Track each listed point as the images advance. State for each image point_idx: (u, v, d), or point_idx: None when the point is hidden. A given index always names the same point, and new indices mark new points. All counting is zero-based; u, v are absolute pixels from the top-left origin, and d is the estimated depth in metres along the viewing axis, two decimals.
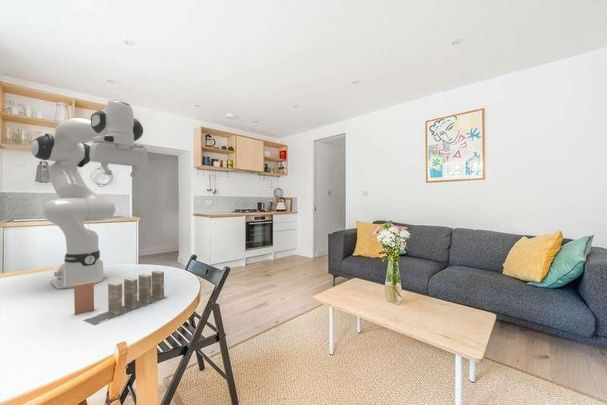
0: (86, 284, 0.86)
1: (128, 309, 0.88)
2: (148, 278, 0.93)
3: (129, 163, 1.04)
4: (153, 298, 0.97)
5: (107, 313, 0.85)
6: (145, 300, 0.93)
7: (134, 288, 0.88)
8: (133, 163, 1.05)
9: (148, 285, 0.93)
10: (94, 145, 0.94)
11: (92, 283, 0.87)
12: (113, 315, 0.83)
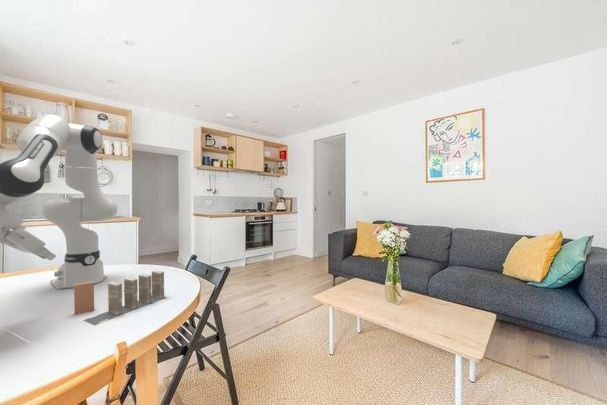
0: (86, 284, 0.86)
1: (128, 309, 0.88)
2: (148, 278, 0.93)
3: (28, 252, 0.75)
4: (153, 298, 0.97)
5: (107, 313, 0.85)
6: (145, 300, 0.93)
7: (134, 288, 0.88)
8: (28, 252, 0.74)
9: (148, 285, 0.93)
10: None
11: (92, 283, 0.87)
12: (113, 315, 0.83)
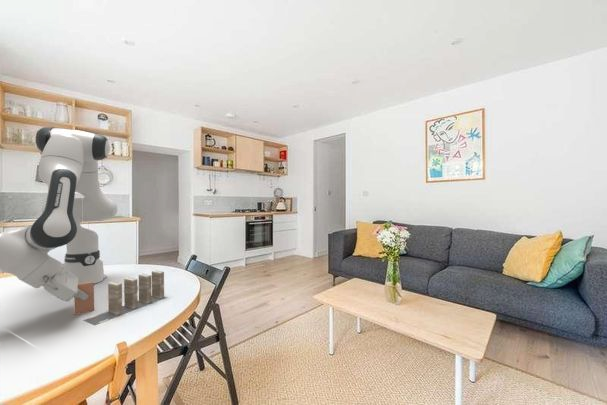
0: (86, 284, 0.86)
1: (128, 309, 0.88)
2: (148, 278, 0.93)
3: None
4: (153, 298, 0.97)
5: (107, 313, 0.85)
6: (145, 300, 0.93)
7: (134, 288, 0.88)
8: None
9: (148, 285, 0.93)
10: None
11: (92, 283, 0.87)
12: (113, 315, 0.83)
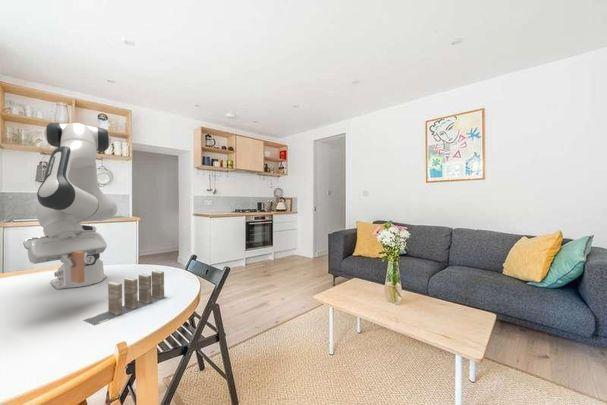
0: (75, 253, 0.85)
1: (128, 309, 0.88)
2: (148, 278, 0.93)
3: None
4: (153, 298, 0.97)
5: (107, 313, 0.85)
6: (145, 300, 0.93)
7: (134, 288, 0.88)
8: None
9: (148, 285, 0.93)
10: None
11: (77, 253, 0.84)
12: (113, 315, 0.83)
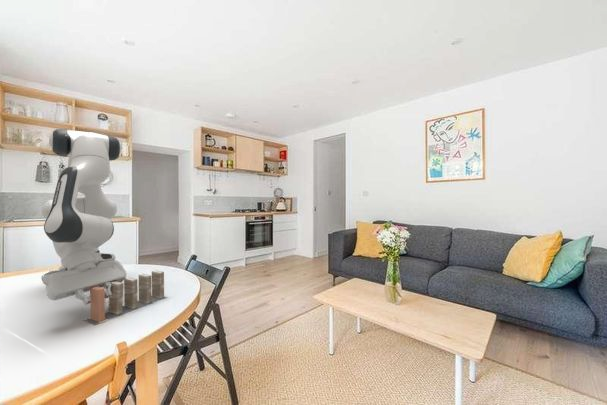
0: (95, 290, 0.79)
1: (128, 309, 0.88)
2: (148, 278, 0.93)
3: None
4: (153, 298, 0.97)
5: (107, 313, 0.85)
6: (145, 300, 0.93)
7: (134, 288, 0.88)
8: None
9: (148, 285, 0.93)
10: None
11: (98, 290, 0.79)
12: (113, 315, 0.83)
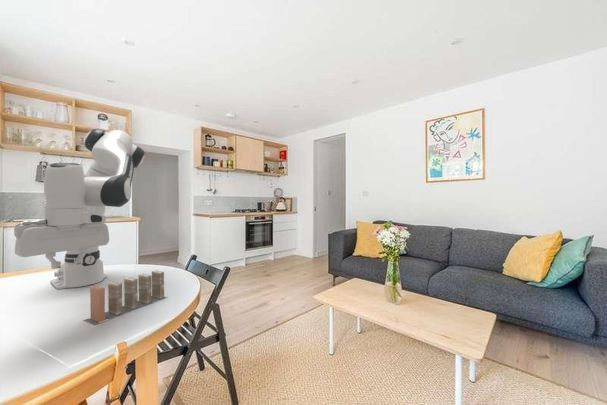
0: (95, 290, 0.79)
1: (128, 309, 0.88)
2: (148, 278, 0.93)
3: None
4: (153, 298, 0.97)
5: (107, 313, 0.85)
6: (145, 300, 0.93)
7: (134, 288, 0.88)
8: None
9: (148, 285, 0.93)
10: None
11: (98, 290, 0.79)
12: (113, 315, 0.83)
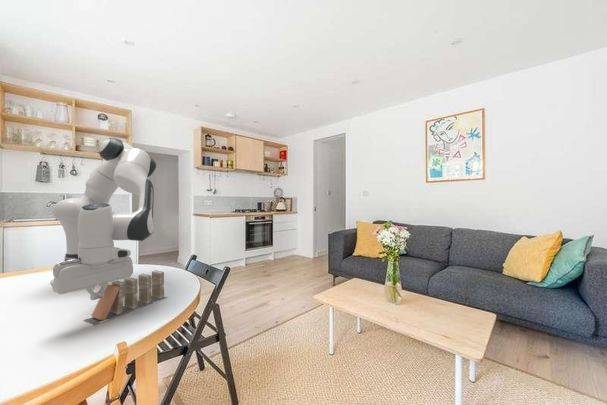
0: (111, 286, 0.84)
1: (128, 309, 0.88)
2: (148, 278, 0.93)
3: None
4: (153, 298, 0.97)
5: None
6: (145, 300, 0.93)
7: (134, 288, 0.88)
8: None
9: (148, 285, 0.93)
10: None
11: (114, 287, 0.83)
12: (113, 315, 0.83)
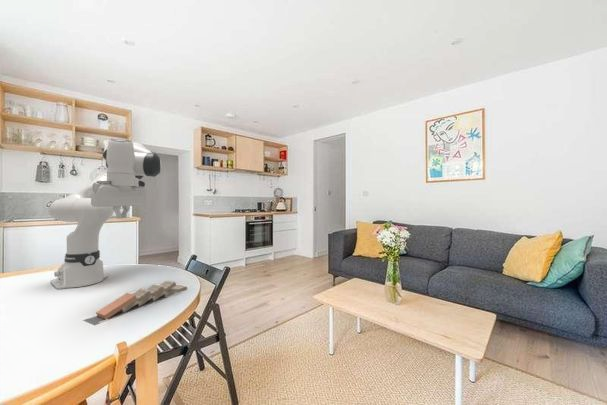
0: (131, 295, 0.89)
1: None
2: (173, 284, 1.02)
3: None
4: None
5: None
6: None
7: (156, 291, 0.96)
8: None
9: (168, 287, 1.00)
10: None
11: (133, 295, 0.88)
12: (113, 315, 0.83)
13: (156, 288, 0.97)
